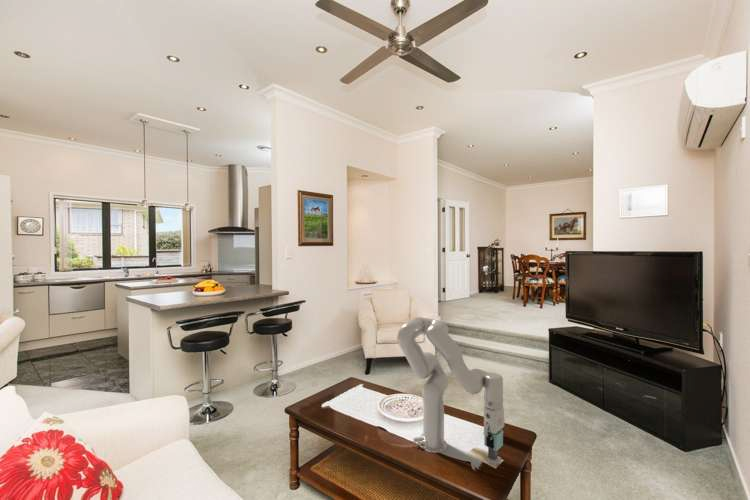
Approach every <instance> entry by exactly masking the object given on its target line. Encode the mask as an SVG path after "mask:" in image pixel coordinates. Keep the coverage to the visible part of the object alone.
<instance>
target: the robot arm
mask: <svg viewBox="0 0 750 500" xmlns="http://www.w3.org/2000/svg"><path fill="white" fill-rule="evenodd" d="M420 335H423V336H426V338H427V339H428V341H429V342H430V343H431V344H432V346H433V347H434V348H435V349H436V350H437V352H439V353H440V355H441V356H442V357H443V358H444V359H445V360H446V363H447V366H448V367H449V370H450V371H451V374H452V375H453V377H454V378H455V380H456V381H457V382H458V383H459V385H460V386H461V387H462V388H463V390H465V391H466V392H467V393H469V394H471V395H478V394H479V393H481V391H482V389H483V388H484V394H485V413H484V412H483V436H484V435H485V436H486V446H485V447H487V446H488V447H490V448H492V449H493V448H494V439H493V434H496V433H497V432H498V431H500V430H502V429H503V428H505V411H504V378H503V376H502V375H501V374H499V373H496V372H490V371H489V372H488V371H486V370H482V369H479V368H472V369H469V367H467V365H466V363H465V360H464V356H463V352H462V349H461V347H460V345H458V344H457V342H456V341H455V340H454V339H453V338H452V336H450V334H449V326H448V325H447V323H445V321H443V320H439V319H433V318H429V317H428V318H426V317H422V316H416V317H413V318H411V319H409V320H408V321H406V322H405V323H404V324H402V325H401V327H400V328H399V330H398V331H397V335H396V336H397V337H396V340H397V343H398V346H399V349H400V350H401V351H402V353H403V355H404V356H405V358H406V360H407V363H408V364H409V366H410V367H411V370H412V371H413V373H414V375H415V376H416V377H417V378H419V379H420V380H425V379H426V378H427V380H426V381H425V382H424V384H423V385H422V388H421V389H422V390H421V396H422V397H421V398H422V404H423V405H422V406H423V408H422V411H423V417H422V419H423V422H422V423H423V424H422V425H423V427H422V428H423V429H422V432H423V433H421V436H417V437H413V439H412V441H413V443H416V444H417V445H419V446H420V448H421V449H423V450H424V451H426V452H430V453H434V454H435V453H442V452H444V451H446V450H447V448H448V443H447V441H446V440H445V405H444V396H445V393H446V391H447V390H448V388H449V385H450V382H449V378H448V377H447V374H446V372H445V370H444V369H443V367H442V364H441V363H440V362H439V360H438V358H437V357H436V356H435V354H433V353H431V352H429V351H428V352H427V351H425V352H424V350H423V349H422V347H421V345H420V344H419V343H418V342H417V341H416V339H417V338H418V337H419V336H420ZM484 429H485V430H484ZM489 429H490V430H489ZM489 432H490V433H491V436H490V435H489V434H488V433H489ZM488 447H487V448H488Z"/></svg>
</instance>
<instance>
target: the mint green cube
mask: <svg viewBox="0 0 750 500" xmlns="http://www.w3.org/2000/svg"><path fill="white" fill-rule="evenodd" d="M489 430H490V429H489ZM488 434H489V435H490V436H491V433H490V432H489V433H488ZM483 436H484V437H483V438H484V439H483V440H484V446H485V447H487V448H488V446H486V436H485V435H484V434H483ZM493 439H494V448H493V450H496V451H497V450H498V451H499V449H501V448H502V447H503V446H504V430H502V429H501V430H500V431H498V432H497V433H496V434H493ZM489 448H490V447H489ZM491 449H492V448H491Z"/></svg>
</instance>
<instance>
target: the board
mask: <svg viewBox="0 0 750 500" xmlns="http://www.w3.org/2000/svg"><path fill="white" fill-rule="evenodd" d="M466 454H467V455H468V456H471V457H473V458H475V459H477V460H479V461H480V462H483V463H484V464H486V465H488V466H490V467H492V468H494V469H497V468H498V467H499V466H500V465H501V464H502V463H503V462H504V459H502V458H501V461H500V462H499V463H498V464H497V465H496V466H495V465H493V464H491V463H489V462H487V461H485V457H486V456H487V455H488V451H486V450H485V449H482V448H480V447H478V446H476V445H475V446H474V447H473V448H471V449H470V450H469V451H468V452H467V453H466Z"/></svg>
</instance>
